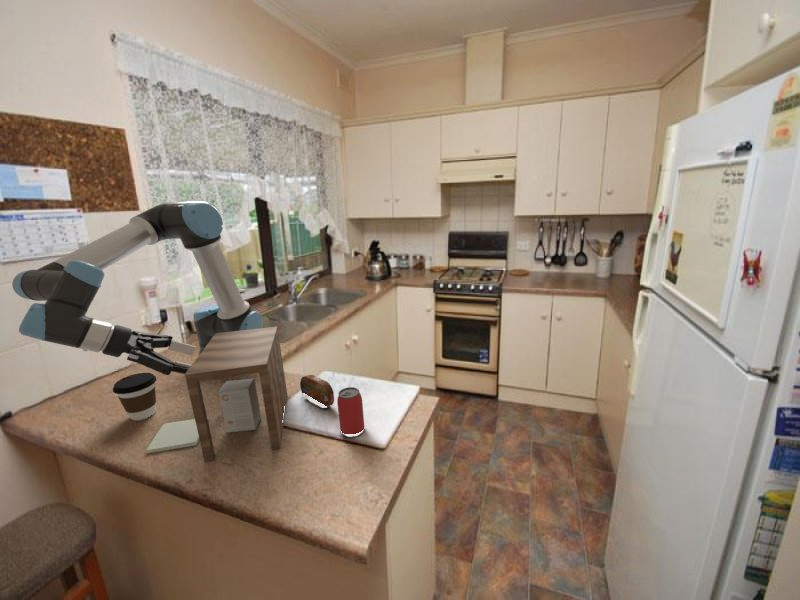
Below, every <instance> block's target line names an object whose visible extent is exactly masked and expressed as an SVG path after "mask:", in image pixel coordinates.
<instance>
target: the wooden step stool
mask: <svg viewBox="0 0 800 600" xmlns="http://www.w3.org/2000/svg"><path fill="white" fill-rule="evenodd" d="M198 355H199V354H198ZM283 363H284V362H283V357H282V349H281V343H280V336H279V329H278V326H269V327H262V328H259V329H250V330H241V331H233V332H224V333H215V335H214V336H213V337H212V339H211V340H210V341H209V343H208V344H207V346H206V347H205V348H204V350H203V351H202V352H201V354H200V355H199V356H197V357H196V359H195V360H194V361H193V363H192V364H191V365H192V366H191V367H190V368H189V370H188V371H187V373H186V374H184V377H185V381H186V386H187V390H188V394H189V399H190V403H191V408H192V413H193V417H194V419H195V422H196V426H197V430H198V435H199V439H200V440H199V443H200V448H201V452H202V456H203V460H204V463H208V462H213V461H214V460H215V458H216V453H215V452H216V451H215V447H214V442H213V439H212V434H211V430H210V429H211V428H210V425H209V421H208V419H207V417H208V416H207V415H208V414H207V409H206V407H205V406H206V405H205V403H204V397H203V393H202V392H203V391H202V386H201V383H200V382H201V381H202V382H203V381H208V380H215V379H222V386H223V385H224V383H225V382H226V381H233V379H232V377H237V376H244V375H251V374H258V375H259V381H260V387H261V393H262V399H263V400H262V401H263V405H264V410H265V418H266V424H267V430H268V435H269V441H270V447H271V451H275V450H280V449H281V444H282V437H283V428H284V423H282V420H283V413H284V406H285V404H286V405H287V398H288V391H287V390H288V389H287V384H286V383H287V382H286V377H285V370H284V364H283Z"/></svg>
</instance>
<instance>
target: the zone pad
mask: <svg viewBox="0 0 800 600" xmlns="http://www.w3.org/2000/svg"><path fill="white" fill-rule="evenodd" d="M207 419H208V422H209V420H210V417H209V416H207ZM199 443H200V439H199V435H198V430H197V426H196V422H195V418H192V419H186V420H181V421H180V420H179V421H178V420H177V421H173V422H167V423H163V424H162V426H161V427H160V429H159V431H158V432H157V433H156V435H155V436H154V437H153V439H152V441H151V442H150V444H149V445H148V447H146V454H150V453H151V454H152V453H153V454H154V453H157V452H165V451H169V450H176V449H181V448H187V447H193V446H194V447H195V446H197V445H198V444H199Z"/></svg>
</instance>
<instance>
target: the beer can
mask: <svg viewBox="0 0 800 600" xmlns="http://www.w3.org/2000/svg"><path fill="white" fill-rule="evenodd" d="M337 394H338V396H337V400H336V403H337V404H336V405H337V412H338V420H339V421H338V422H339V430H341V431H342V433H344V434H356V433H359V432H361V431H362V430H363V429H364V427H365V417H364V407H363V406H364V405H363V398H362V395H361V393H360V389H359V388H357V387H354V386H352V387H351V386H348V387H345V388H342V389H340V390H339V392H338V393H337ZM364 430H365V429H364ZM341 431H340V432H341Z"/></svg>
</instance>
